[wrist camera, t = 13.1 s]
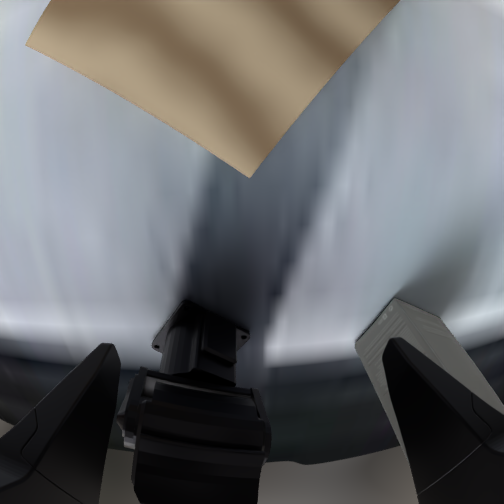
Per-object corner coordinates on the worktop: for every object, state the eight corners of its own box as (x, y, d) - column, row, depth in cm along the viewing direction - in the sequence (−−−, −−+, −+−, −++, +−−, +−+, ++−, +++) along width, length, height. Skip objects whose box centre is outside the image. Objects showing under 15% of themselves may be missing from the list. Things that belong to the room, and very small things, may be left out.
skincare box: (351, 343, 28) (404, 494, 14) (399, 287, 25) (488, 439, 11) (404, 359, 30) (457, 480, 17) (447, 313, 27) (522, 432, 14)
